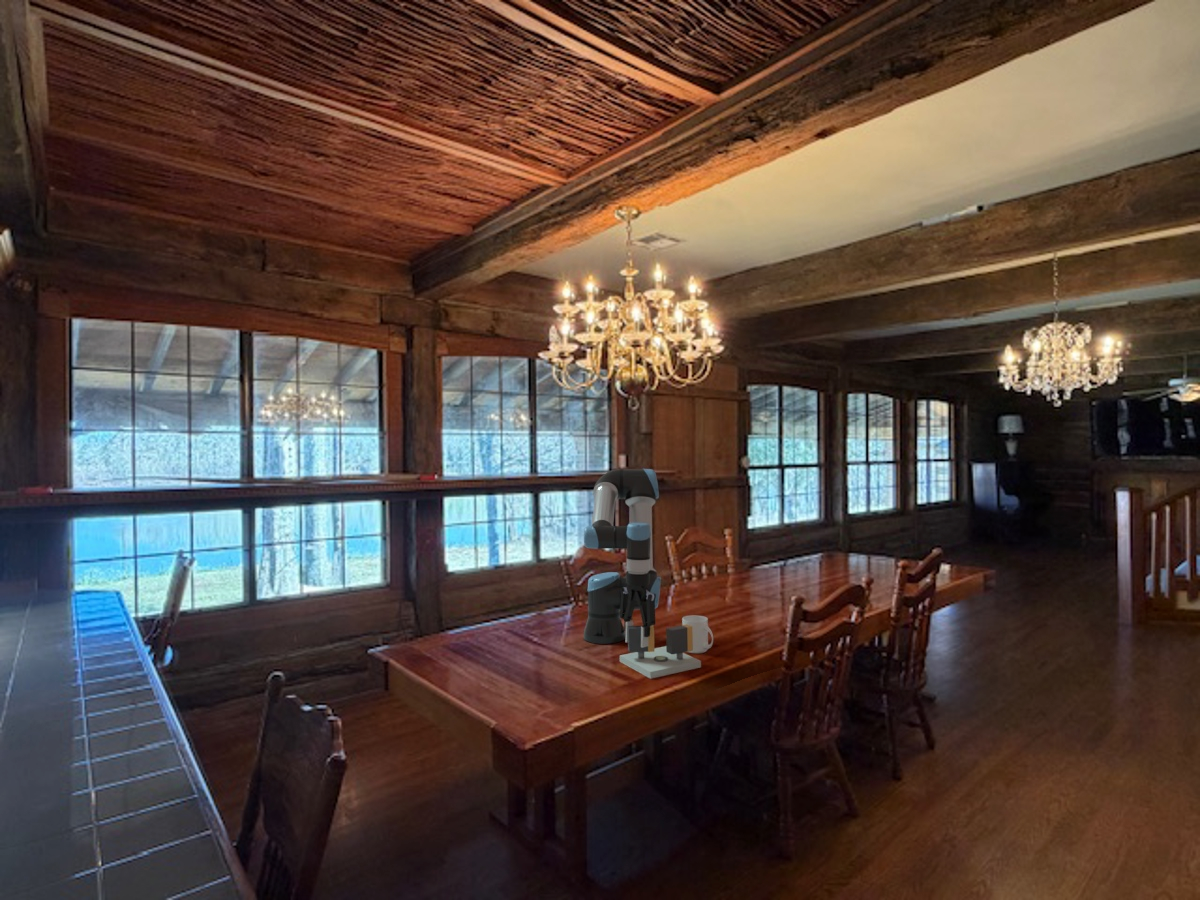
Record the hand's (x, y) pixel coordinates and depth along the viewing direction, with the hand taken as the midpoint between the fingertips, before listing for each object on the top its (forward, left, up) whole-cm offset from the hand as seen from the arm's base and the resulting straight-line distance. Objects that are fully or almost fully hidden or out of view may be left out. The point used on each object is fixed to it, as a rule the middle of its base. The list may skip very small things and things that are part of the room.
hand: (636, 643), depth 203 cm
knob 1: (0, +1, -5) cm, 5 cm away
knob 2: (+7, +11, -5) cm, 14 cm away
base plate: (+3, +6, -7) cm, 10 cm away
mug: (-1, +25, -7) cm, 26 cm away
